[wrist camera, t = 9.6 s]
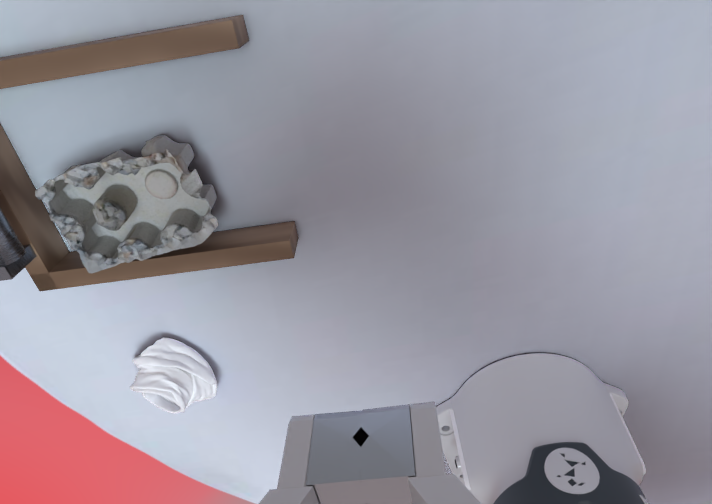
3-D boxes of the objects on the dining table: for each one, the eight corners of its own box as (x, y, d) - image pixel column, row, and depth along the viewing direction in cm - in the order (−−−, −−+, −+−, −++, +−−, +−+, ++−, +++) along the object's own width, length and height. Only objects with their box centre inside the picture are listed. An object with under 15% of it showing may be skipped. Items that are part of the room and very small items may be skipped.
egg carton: (186, 123, 33) (169, 146, 29) (231, 216, 37) (221, 245, 34) (45, 165, 34) (14, 192, 31) (104, 250, 38) (82, 282, 35)
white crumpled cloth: (236, 363, 45) (223, 404, 41) (200, 402, 48) (185, 444, 44) (157, 321, 43) (136, 360, 39) (125, 365, 46) (101, 406, 41)
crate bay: (298, 237, 38) (294, 258, 36) (60, 269, 40) (39, 291, 37) (242, 14, 30) (231, 20, 27) (-54, 67, 32) (-90, 76, 29)
